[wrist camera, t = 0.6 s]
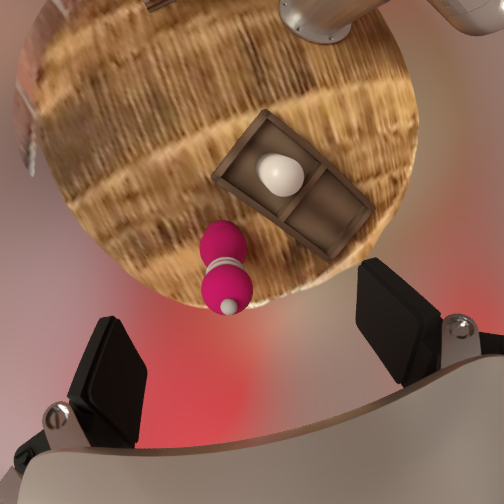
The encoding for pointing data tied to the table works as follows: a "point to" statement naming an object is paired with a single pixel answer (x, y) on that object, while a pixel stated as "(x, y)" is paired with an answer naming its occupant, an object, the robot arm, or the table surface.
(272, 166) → the salt shaker
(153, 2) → the spiral ramp tower
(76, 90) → the table surface
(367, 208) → the walnut cruet tray
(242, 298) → the pepper mill
